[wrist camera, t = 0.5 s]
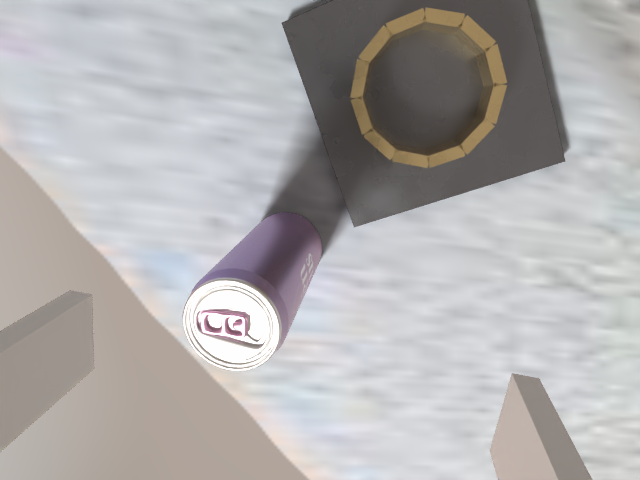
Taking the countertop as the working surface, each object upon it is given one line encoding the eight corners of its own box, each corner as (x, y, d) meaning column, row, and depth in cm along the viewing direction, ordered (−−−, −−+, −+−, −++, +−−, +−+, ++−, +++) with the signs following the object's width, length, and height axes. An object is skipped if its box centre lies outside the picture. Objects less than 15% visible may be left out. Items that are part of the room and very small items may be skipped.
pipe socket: (285, 25, 35) (269, 14, 30) (505, -71, 31) (524, -100, 26) (355, 223, 38) (350, 240, 34) (559, 159, 34) (584, 168, 30)
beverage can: (255, 206, 39) (177, 269, 25) (325, 214, 38) (286, 283, 24) (253, 272, 41) (180, 366, 27) (320, 280, 40) (281, 381, 26)
